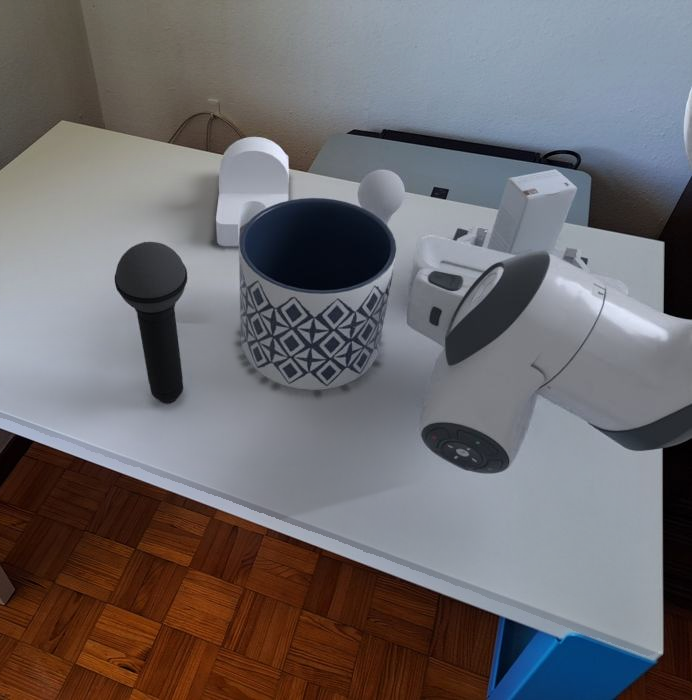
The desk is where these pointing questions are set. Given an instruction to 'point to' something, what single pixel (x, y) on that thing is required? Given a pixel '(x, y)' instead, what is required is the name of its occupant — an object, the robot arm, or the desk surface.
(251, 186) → the white u-slot block
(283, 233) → the planter
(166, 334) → the microphone
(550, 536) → the desk surface
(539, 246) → the cosmetic box
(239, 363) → the desk surface
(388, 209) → the light bulb
